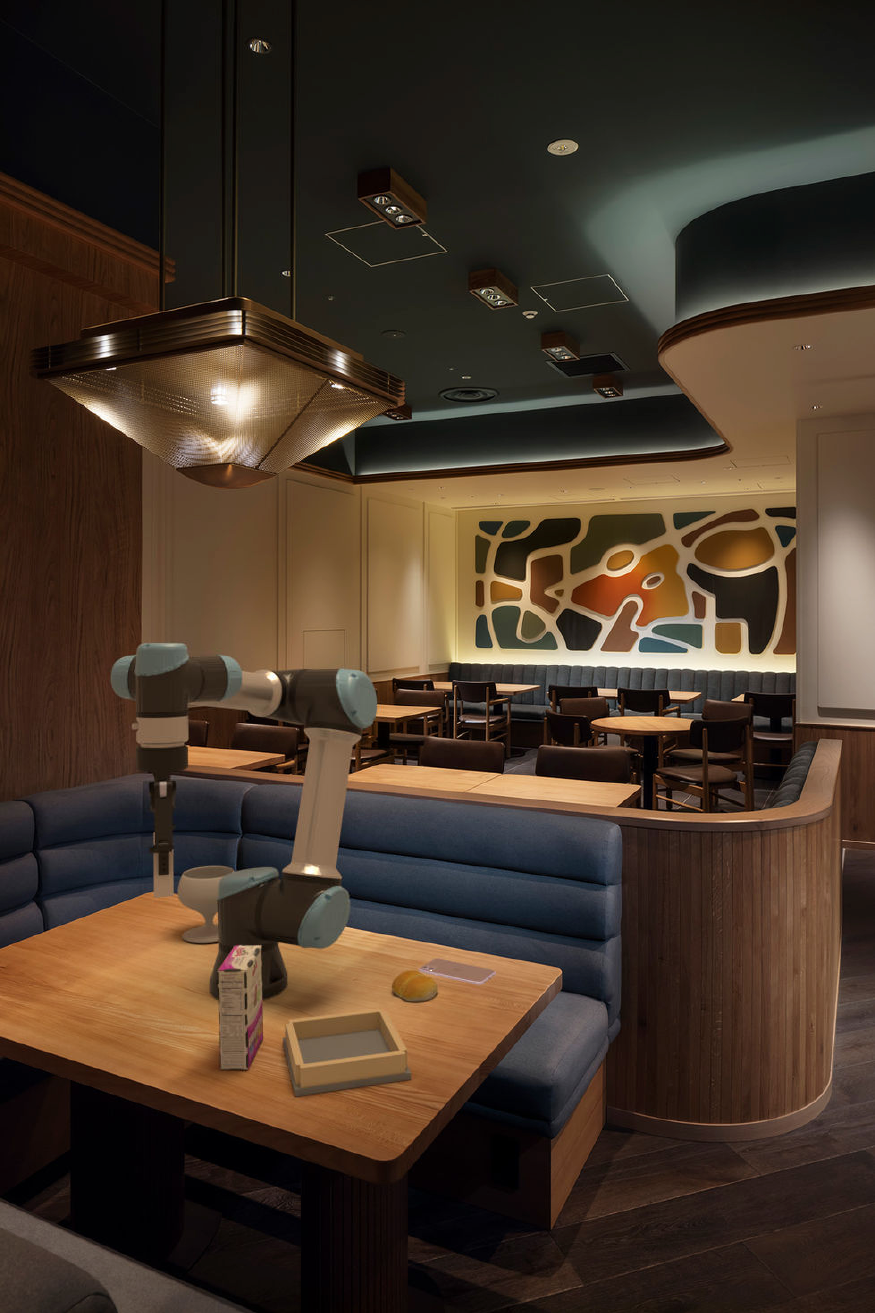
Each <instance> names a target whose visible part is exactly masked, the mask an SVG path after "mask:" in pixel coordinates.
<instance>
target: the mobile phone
mask: <svg viewBox="0 0 875 1313" xmlns="http://www.w3.org/2000/svg"><path fill="white" fill-rule="evenodd" d="M418 972H420V973H422V974H429V975H433V976H437V977H442V978H446V979H451V980H455V981H460V982H463V983H469V984H473V985H478V986H479V985H483V984H485V983H486V982H487V981H488V980H490V979H492V978H493V977H495V976H496V975H497V972H496V971H495V970H494V969H491V968H487V967H486V968H485V967H481V966H476V965H471V964H468V963H467V964H466V963H462V962H457V961H453V960H452V961H451V960H448V959H442V958H434V959H432V960H430V961H429V962H427V963H426V964H424V965H422V966H421V967H419V971H418Z"/></svg>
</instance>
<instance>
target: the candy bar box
mask: <svg viewBox="0 0 875 1313" xmlns="http://www.w3.org/2000/svg"><path fill="white" fill-rule="evenodd" d="M261 960H262V959H261V945H245V946H243V945H237V946H234V948H233V949H232V951H231V952H230V954H229V955H228V956H227V958H226V959H225V961H224V962H223V964H222V965H221V966H220V968H219V969H218V999H217V1000H218V1001H217V1002H218V1029H219V1030H218V1031H219V1032H218V1035H219V1036H218V1038H219V1041H218V1042H219V1070H221V1071H244V1070H245V1071H247V1070H249V1069H250V1067H251V1065H252V1063H253V1061H254V1058H255V1056H256V1054H257V1052H258V1049H259V1048H260V1046H261V1044H262V1041H263V1040H264V1024H263V1023H264V1022H263V1020H264V1018H263V1017H264V1016H263V1014H264V1012H263V1011H264V1010H263V1000H262V961H261Z"/></svg>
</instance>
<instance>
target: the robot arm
mask: <svg viewBox="0 0 875 1313" xmlns="http://www.w3.org/2000/svg"><path fill="white" fill-rule="evenodd" d="M135 653H136V654H134V655H126V656H123V657H121V658H119V659H118V660H116V662H114V664H113V666H112V667H111V672H110V683H111V685H110V686H111V687H112V690H113V692H115V694H116V695H117V696H118V697H119V698H122V699H127V700H131V701H135V707H136V708H135V710H136V712H135V715H136V719H135V720H136V722H135V723H132V725H131V730H137V731H136V732H135V733H136V737H135V738H136V739H135V740H136V743H138V744H139V746H137V748H136V749H135V768H136V770H137V771H138V772H140V773H144V774H150V773H152V777H153V781H149V782H148V796H149V798H150V812H151V813H153V815H154V816H153V820H152V822H153V828H152V829H153V830H154V832H153V846H149V847H148V853H149V854H153V899H156V898H164V897H174V895H175V894H174V847H175V845H174V842H173V838H174V835H173V834H174V833H173V830H174V831H175V830H176V822H173V811H175V809H176V795H177V781H176V780H171V775H172V774H171V773H172V772H173V773H174V772H181V771H184V770H186V769H188V767H189V746H187V744H185V743H186V742H187V741H188V740H189V705H195V706H204V707H211V708H212V707H214V708H221V709H222V708H223V709H232V710H240V711H248V712H249V713H250V714H251V715H252V716H255V717H258V718H260V717H261V718H266V719H272V720H275V721H280V722H284V723H289V724H292V725H293V724H294V725H302V726H304V727H303V732H304V734H305V735H306V737H307V738H308V739H309V746H308V752H307V759H306V764H305V765H306V766H305V770H304V771H305V772H304V778H303V785H302V792H301V799H300V804H299V811H298V812H299V813H298V818H297V824H296V832H295V837H294V843H293V844H294V845H293V850H292V858H291V862H290V863H289V864H288V865H286V866H285V867H284V868H283V869H282V871H281V877H280V873H279V871H278V869H277V868H276V867H272V866H260V867H253V868H251V867H250V868H246V869H241V870H237V871H235V872H233V873H230V874H228V875H226V876H224V877H223V878H222V879H221V880H220V882H219V888H218V897H217V900H218V912H217V925H218V940H219V941H218V951H217V954H216V958H215V961H214V964H213V967H212V971H211V974H210V977H209V993H210V995H211V996H212V997H213V998H215V999H217V1000H218V969H219V968H220V966H221V965H222V964H223V962H224V961H225V959H226V958H227V956H228V955H229V954H230V952H231V951H232V949H233V948H234V946H237V945H243V946H245V945H261V959H262V960H261V961H262V1001H265V1000H268V999H270V998H274V997H275V996H278V995H279V994H282V992H283V991H285V990H286V989H287V987H288V984H289V983H288V971H287V968H286V964H285V961H284V959H283V955H282V954H281V953H282V952H281V951H280V946H279V943H282V944H287V945H291V946H296V947H297V946H298V947H301V948H302V949H309V948H310V949H318V950H322V949H327V948H328V947H330V946H332V945H334V944H335V943H336V942H337V940H338V939H339V938H340V937H341V935H342V934H343V932H344V931H345V929H346V926H347V924H348V920H349V916H350V913H351V900H350V894H349V891H348V890H346V888H344V887H343V886H342V880H343V876H342V875H341V873H340V872H339V871H338V870H337V867H336V866H337V862H338V860H337V859H338V852H339V846H340V845H339V844H340V839H341V838H340V837H341V833H342V832H341V831H342V824H343V817H344V810H345V804H346V796H347V788H348V780H349V776H350V767H351V760H352V755H353V754H352V752H353V747H354V746H355V745H356V744H357V743H358V742H359V741H360V740H362V737H363V736H362V734H363V729H367V728H369V727H371V726H372V725H373V723H374V721H375V719H376V717H377V713H378V699H377V692H376V689H375V687H374V685H373V682H372V680H371V678H370V677H369V676H368V675H367V674H366V673H365V672H363V671H361V670H357V669H350V668H349V669H348V668H329V669H328V668H320V669H319V668H317V669H316V668H315V669H314V668H295V669H285V670H284V669H283V670H271V669H270V670H269V669H258V670H256V671H253V672H251V671H246V670H245V671H244V670H242V668H241V666H240V664H239V662H237V660H236V659H234V658H233V657H231V656H228V655H220V654H212V655H211V654H209V655H208V654H207V655H203V654H201V655H200V654H199V655H196V654H194V655H192V654H191V655H190V654H189V653H188V647H187V645H186V644H184V643H181V642H180V643H179V642H178V643H177V642H155V643H154V642H148V643H147V642H145V643H142V644H139V645H138V646H137V648H136V652H135ZM279 877H280V878H279Z"/></svg>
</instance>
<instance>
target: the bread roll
mask: <svg viewBox="0 0 875 1313" xmlns="http://www.w3.org/2000/svg"><path fill="white" fill-rule="evenodd" d="M391 989H392V991H393V993H394V994H395V996H397V997H398V998H399V997H400V998H402V1000H404V1001H406V1002H412V1003H414V1002H425V1001H429V1000H431V999H433V998H434V997H435V996H436V995H437V992H438V984H437V982H436V980H435V979H434V978H432V977H430V976H426V975H425V974H424V973H423V972H420V971H418V970H413V969H409V970H405V971H402V972H401V973H400V974H398V975H397V976H395V978H394V979H393V981H392V984H391Z"/></svg>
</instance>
